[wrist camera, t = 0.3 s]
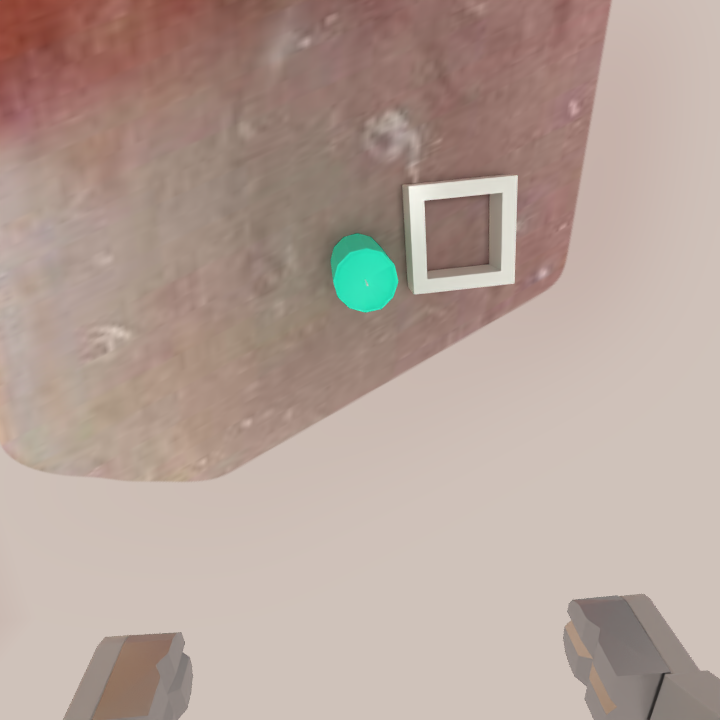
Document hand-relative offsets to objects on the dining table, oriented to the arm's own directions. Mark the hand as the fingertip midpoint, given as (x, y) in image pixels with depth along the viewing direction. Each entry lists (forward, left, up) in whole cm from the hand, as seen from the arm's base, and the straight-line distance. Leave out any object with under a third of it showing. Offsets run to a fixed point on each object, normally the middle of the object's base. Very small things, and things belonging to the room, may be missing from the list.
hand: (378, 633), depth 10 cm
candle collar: (-1, +14, -47) cm, 49 cm away
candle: (+1, +3, -47) cm, 47 cm away
